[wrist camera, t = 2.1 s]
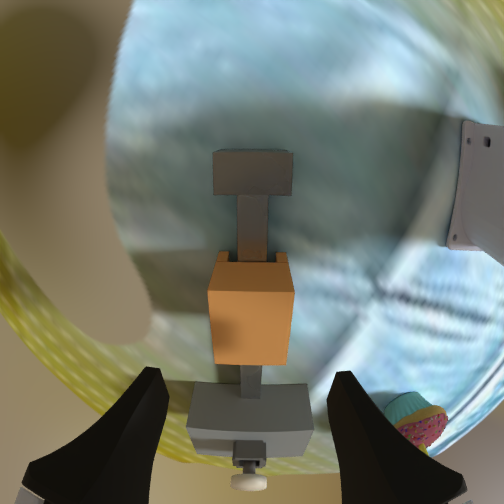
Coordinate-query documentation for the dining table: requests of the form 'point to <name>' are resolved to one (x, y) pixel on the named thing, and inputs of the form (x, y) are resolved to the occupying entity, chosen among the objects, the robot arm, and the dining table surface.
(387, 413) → the cupcake
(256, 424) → the button box
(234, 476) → the plunger
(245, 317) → the carriage
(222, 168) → the rail
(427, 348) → the dining table surface
